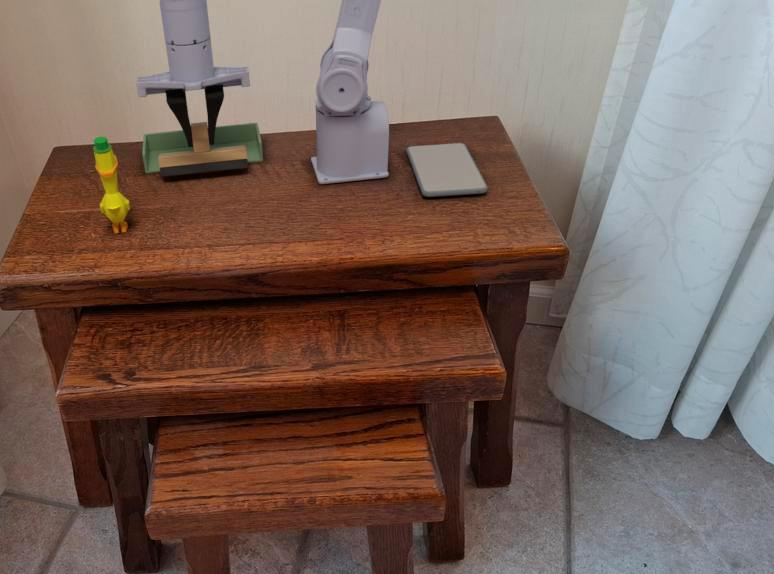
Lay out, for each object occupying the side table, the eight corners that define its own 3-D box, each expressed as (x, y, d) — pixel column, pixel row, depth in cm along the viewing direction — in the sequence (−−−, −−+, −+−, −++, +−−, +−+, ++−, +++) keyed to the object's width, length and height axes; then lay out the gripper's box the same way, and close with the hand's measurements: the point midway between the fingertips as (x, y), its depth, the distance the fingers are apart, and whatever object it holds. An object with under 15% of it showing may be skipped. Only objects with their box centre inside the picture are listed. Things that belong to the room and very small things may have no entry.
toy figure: (106, 217, 99) (86, 126, 91) (134, 213, 99) (116, 123, 91) (106, 243, 94) (84, 149, 86) (135, 239, 94) (116, 145, 86)
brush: (247, 164, 107) (242, 117, 105) (248, 167, 105) (243, 120, 102) (161, 172, 107) (155, 126, 104) (160, 176, 104) (153, 129, 102)
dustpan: (263, 161, 109) (261, 142, 107) (145, 173, 108) (142, 154, 107) (257, 135, 116) (256, 116, 114) (147, 146, 116) (144, 128, 114)
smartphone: (464, 141, 107) (489, 188, 96) (464, 148, 108) (488, 195, 97) (405, 145, 108) (422, 192, 96) (405, 152, 108) (422, 199, 97)
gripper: (128, 54, 93) (147, 160, 101) (247, 42, 93) (256, 149, 102) (131, 37, 98) (148, 139, 107) (243, 26, 99) (251, 129, 107)
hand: (201, 143), depth 105 cm, fingers closed on brush, 2 cm apart
